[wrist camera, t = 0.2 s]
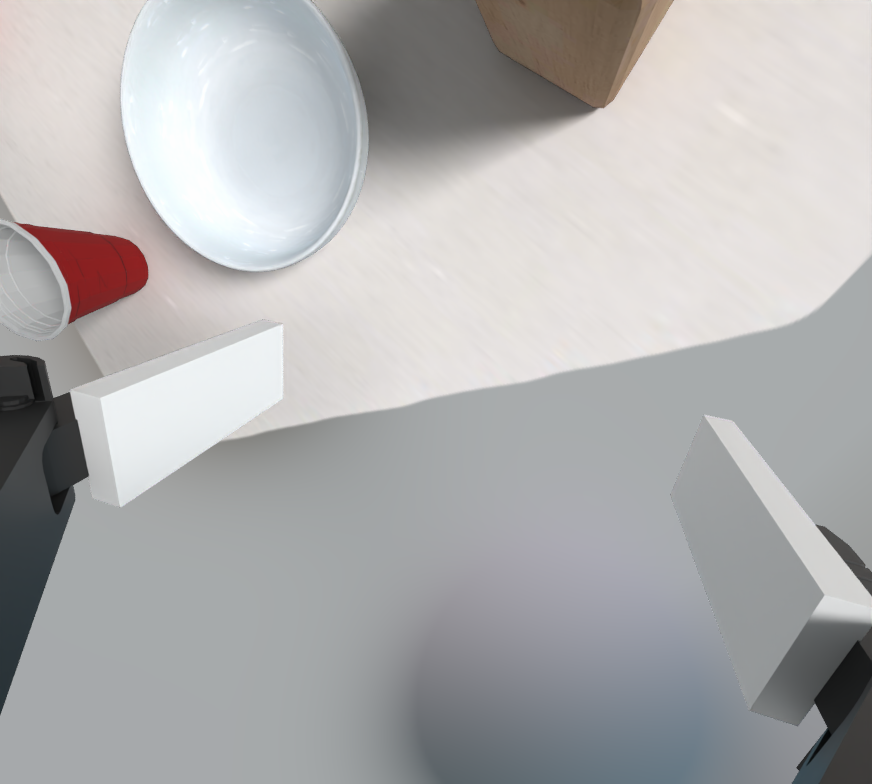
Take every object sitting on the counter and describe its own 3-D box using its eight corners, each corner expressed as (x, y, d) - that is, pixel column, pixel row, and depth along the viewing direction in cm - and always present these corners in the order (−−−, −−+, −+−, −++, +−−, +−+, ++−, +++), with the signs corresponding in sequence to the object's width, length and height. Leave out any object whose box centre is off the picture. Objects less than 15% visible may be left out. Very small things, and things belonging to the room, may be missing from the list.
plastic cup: (120, 327, 53) (8, 357, 43) (69, 235, 50) (-65, 242, 40) (187, 298, 49) (81, 323, 39) (135, 197, 47) (6, 194, 36)
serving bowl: (437, 182, 39) (413, 177, 33) (270, 301, 47) (225, 315, 41) (299, -71, 35) (241, -132, 29) (143, 107, 43) (72, 90, 37)
